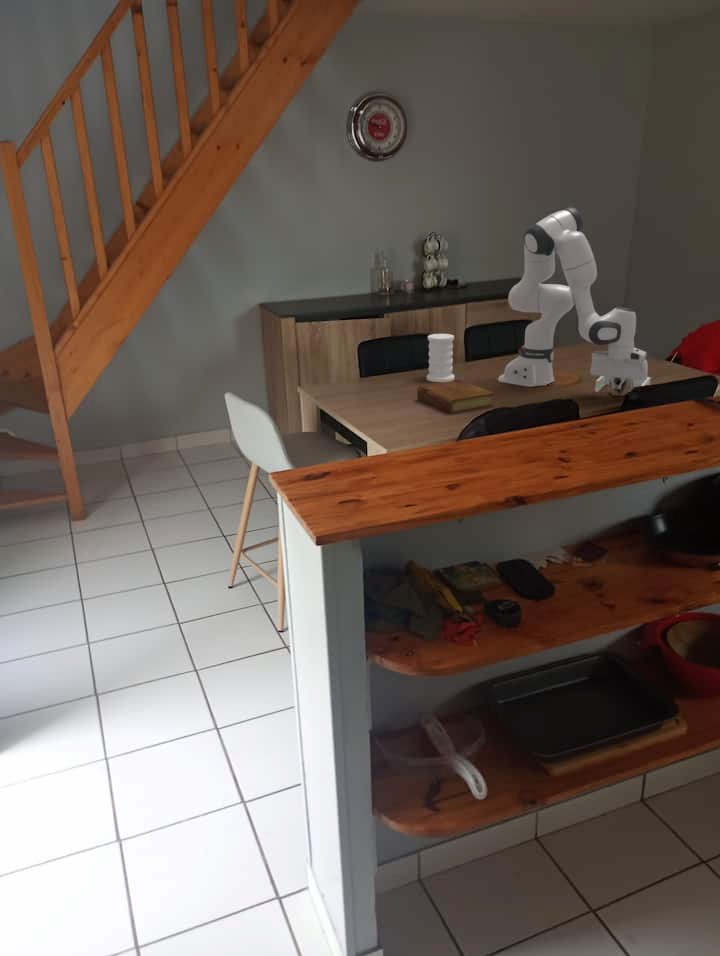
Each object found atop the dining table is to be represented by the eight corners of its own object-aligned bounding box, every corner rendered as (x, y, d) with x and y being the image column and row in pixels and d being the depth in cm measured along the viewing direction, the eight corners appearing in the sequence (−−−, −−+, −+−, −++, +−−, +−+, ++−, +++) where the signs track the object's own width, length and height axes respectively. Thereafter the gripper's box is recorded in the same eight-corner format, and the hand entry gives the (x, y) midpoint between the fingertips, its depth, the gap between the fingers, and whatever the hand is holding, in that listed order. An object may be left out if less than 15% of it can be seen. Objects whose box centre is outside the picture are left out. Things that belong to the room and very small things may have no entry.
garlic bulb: (608, 398, 286) (603, 373, 285) (629, 393, 286) (624, 368, 285) (617, 397, 276) (612, 371, 276) (639, 392, 277) (634, 366, 276)
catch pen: (594, 392, 286) (595, 380, 285) (603, 383, 297) (604, 372, 296) (642, 397, 278) (643, 385, 276) (649, 388, 289) (651, 377, 287)
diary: (417, 401, 285) (417, 386, 283) (457, 394, 293) (457, 379, 291) (450, 415, 266) (450, 399, 264) (493, 407, 273) (493, 391, 271)
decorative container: (440, 383, 306) (440, 340, 299) (421, 378, 314) (421, 336, 307) (460, 378, 312) (460, 335, 306) (440, 374, 321) (440, 332, 314)
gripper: (589, 351, 276) (586, 387, 281) (647, 356, 265) (642, 393, 271) (594, 348, 281) (591, 383, 286) (650, 352, 270) (646, 389, 276)
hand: (616, 388), depth 278 cm, fingers closed, pressing on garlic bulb
